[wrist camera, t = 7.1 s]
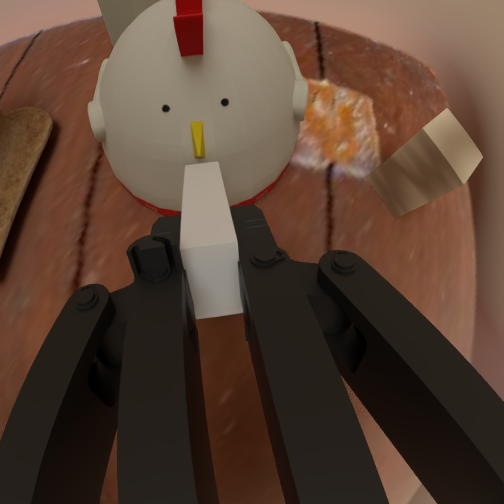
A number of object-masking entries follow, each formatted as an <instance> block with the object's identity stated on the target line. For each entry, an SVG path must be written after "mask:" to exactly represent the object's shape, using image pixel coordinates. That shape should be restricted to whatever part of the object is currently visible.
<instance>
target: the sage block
mask: <svg viewBox="0 0 504 504" xmlns="http://www.w3.org/2000/svg"><path fill="white" fill-rule="evenodd" d="M158 1H160V0H98V3H99V6H100V9H101V12H102V16H103V19H104V22H105V25H106V28H107V31H108V33H109V36H110V39H111V42H112V45H113V48H114V46H115V44H116V42H117V41H118V39H119V37H120V36H121V35H122V33H123V32H124V31H125V29H126V28H127V27H128V26H129V25H130V24H131V23H132V22H133V21H134V20H135V19H136V18H137V17H138V16H139V15H140V14H141V13H142V12H143V11H145V10H146V9H147V8H149V7H150V6H152V5H153V4H155V3H157V2H158Z"/></svg>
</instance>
